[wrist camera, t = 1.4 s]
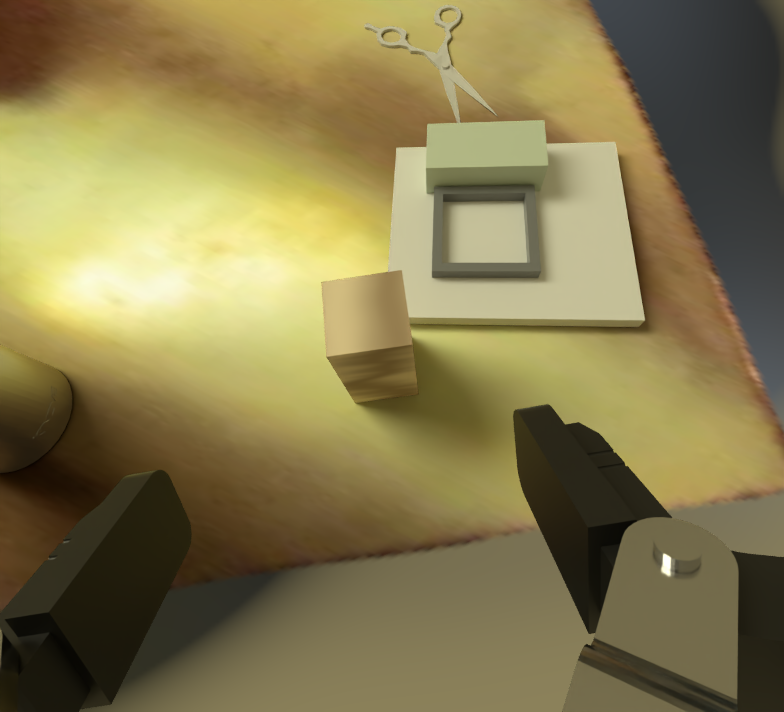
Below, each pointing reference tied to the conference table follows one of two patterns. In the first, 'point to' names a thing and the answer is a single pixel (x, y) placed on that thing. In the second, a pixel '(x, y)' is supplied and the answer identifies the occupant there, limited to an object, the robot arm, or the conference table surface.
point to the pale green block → (486, 154)
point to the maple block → (370, 336)
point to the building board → (518, 245)
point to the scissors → (436, 57)
